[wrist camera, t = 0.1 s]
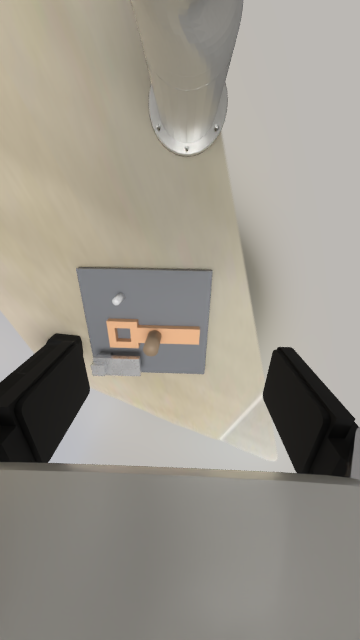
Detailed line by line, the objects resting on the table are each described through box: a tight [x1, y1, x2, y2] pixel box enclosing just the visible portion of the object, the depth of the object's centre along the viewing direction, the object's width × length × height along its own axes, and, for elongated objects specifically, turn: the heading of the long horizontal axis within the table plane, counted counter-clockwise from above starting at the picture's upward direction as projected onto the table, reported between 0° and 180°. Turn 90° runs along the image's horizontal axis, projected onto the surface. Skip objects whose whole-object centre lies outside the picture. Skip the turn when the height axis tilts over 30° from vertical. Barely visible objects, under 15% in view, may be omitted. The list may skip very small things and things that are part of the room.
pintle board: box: [76, 267, 212, 374], centre depth 48 cm, size 27×29×5 cm
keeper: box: [91, 352, 142, 376], centre depth 51 cm, size 5×11×7 cm, turn 89°
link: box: [106, 318, 200, 356], centre depth 46 cm, size 22×7×8 cm, turn 89°
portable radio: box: [0, 334, 83, 397], centre depth 42 cm, size 8×6×25 cm
